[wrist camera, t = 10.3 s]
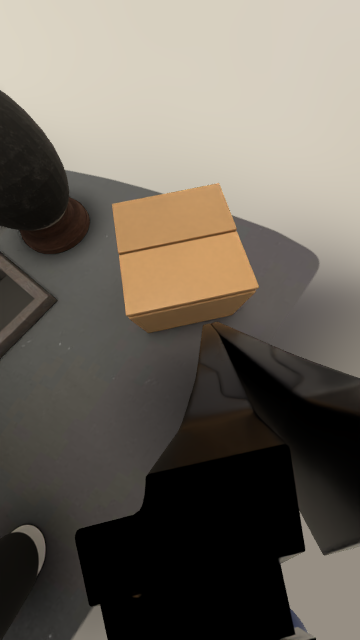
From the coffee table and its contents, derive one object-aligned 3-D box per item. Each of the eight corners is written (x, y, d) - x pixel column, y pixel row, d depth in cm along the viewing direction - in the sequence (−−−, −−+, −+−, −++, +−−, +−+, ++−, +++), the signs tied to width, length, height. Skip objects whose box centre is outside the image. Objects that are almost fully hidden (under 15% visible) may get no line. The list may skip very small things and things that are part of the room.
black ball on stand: (45, 274, 24) (-163, 145, 10) (5, 227, 27) (-204, 72, 12) (110, 224, 26) (19, 58, 12) (67, 186, 29) (-49, 12, 15)
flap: (257, 289, 14) (259, 287, 14) (127, 316, 14) (125, 315, 13) (235, 234, 16) (236, 231, 15) (120, 257, 15) (118, 255, 15)
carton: (232, 314, 22) (260, 287, 14) (148, 333, 21) (125, 316, 13) (208, 239, 25) (219, 182, 17) (135, 254, 25) (111, 203, 17)
